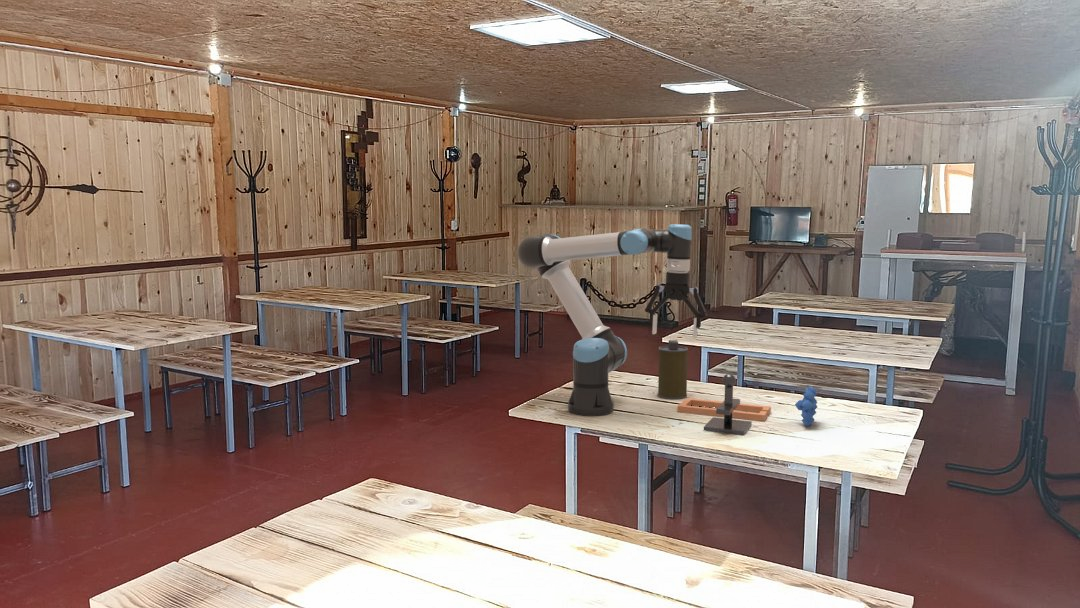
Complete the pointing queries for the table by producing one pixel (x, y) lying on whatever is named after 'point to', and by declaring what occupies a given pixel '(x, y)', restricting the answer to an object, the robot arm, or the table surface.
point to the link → (740, 414)
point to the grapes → (808, 406)
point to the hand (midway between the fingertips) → (674, 335)
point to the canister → (672, 371)
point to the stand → (728, 412)
